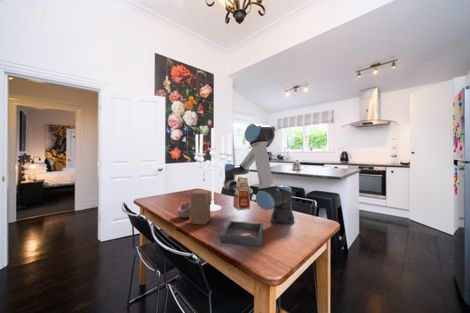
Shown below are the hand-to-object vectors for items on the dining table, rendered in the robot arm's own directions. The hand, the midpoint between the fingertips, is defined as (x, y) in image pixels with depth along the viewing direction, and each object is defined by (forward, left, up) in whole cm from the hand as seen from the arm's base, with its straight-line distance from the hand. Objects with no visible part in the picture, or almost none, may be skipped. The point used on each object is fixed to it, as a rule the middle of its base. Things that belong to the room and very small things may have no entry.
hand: (244, 191), depth 116 cm
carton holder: (-2, +13, -21) cm, 25 cm away
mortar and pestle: (+43, -8, -22) cm, 49 cm away
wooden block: (+29, -2, -22) cm, 36 cm away
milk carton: (+2, -4, -11) cm, 12 cm away
